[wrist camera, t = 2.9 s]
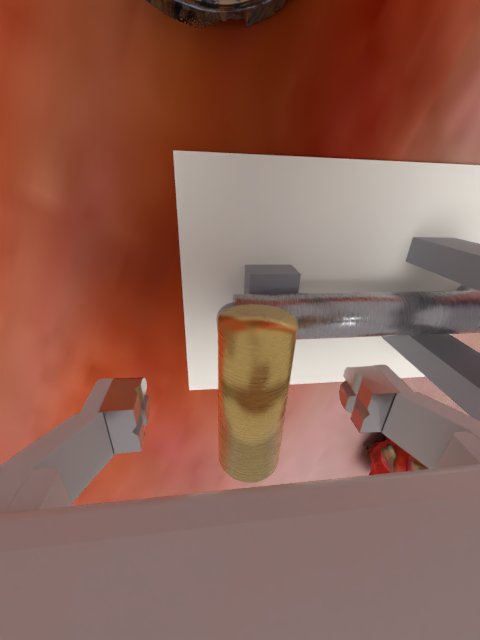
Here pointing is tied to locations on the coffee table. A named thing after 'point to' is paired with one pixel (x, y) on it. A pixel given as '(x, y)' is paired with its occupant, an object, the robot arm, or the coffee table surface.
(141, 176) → the coffee table surface
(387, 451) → the dragon fruit
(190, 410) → the coffee table surface
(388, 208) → the board
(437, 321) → the hook
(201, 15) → the burger
